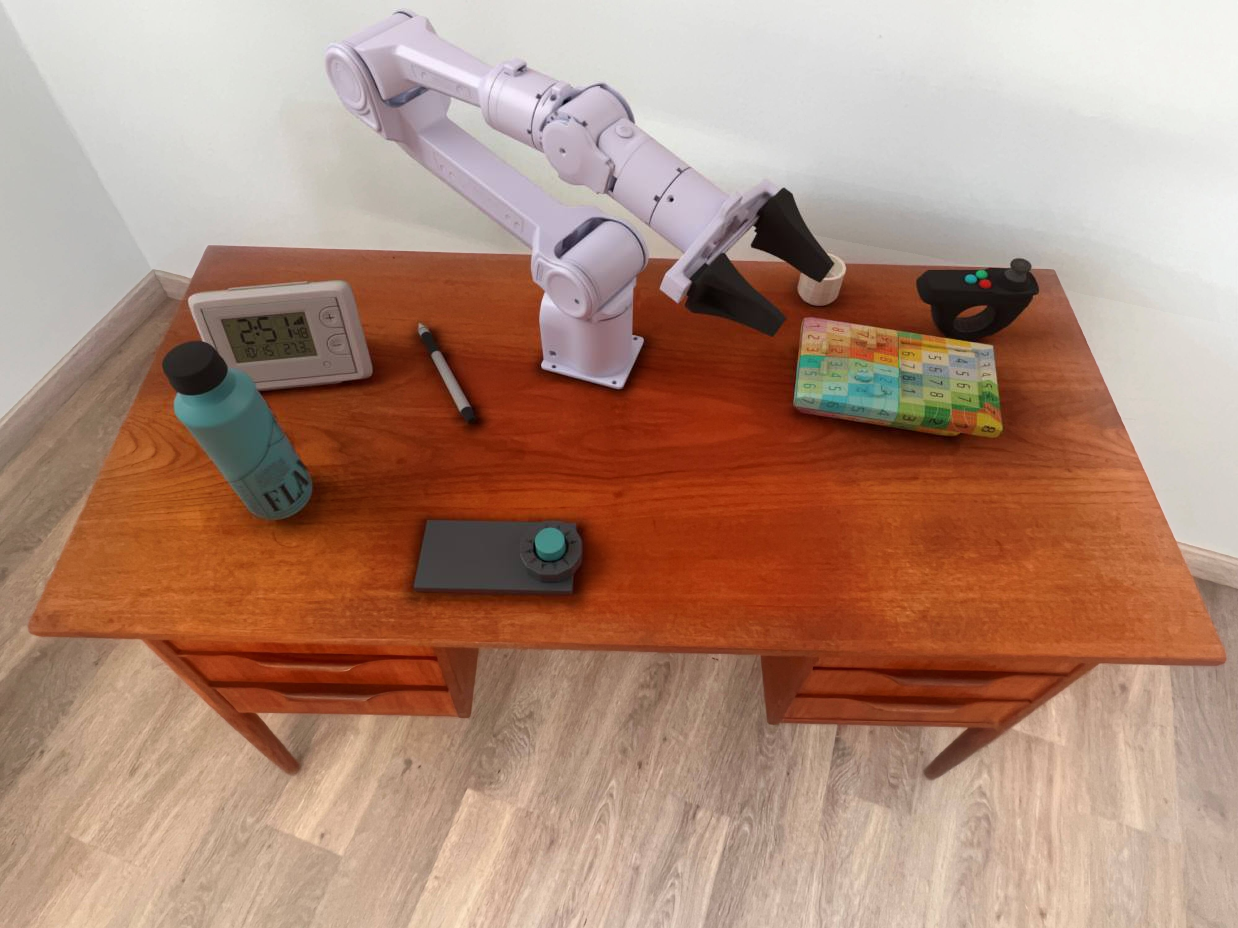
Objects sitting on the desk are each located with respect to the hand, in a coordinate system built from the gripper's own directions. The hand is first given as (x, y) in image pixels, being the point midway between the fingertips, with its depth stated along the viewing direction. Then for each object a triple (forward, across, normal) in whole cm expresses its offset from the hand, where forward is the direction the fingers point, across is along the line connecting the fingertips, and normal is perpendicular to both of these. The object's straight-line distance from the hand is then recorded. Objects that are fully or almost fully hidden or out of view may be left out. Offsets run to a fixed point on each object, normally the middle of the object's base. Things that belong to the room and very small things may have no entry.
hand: (804, 300), depth 59 cm
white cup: (-1, +23, +22) cm, 32 cm away
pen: (-26, -13, +28) cm, 41 cm away
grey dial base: (-7, -27, +22) cm, 35 cm away
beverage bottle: (-27, -34, +27) cm, 51 cm away
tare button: (-4, -24, +19) cm, 30 cm away
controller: (+14, +27, +18) cm, 35 cm away
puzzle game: (+12, +13, +18) cm, 25 cm away
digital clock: (-38, -23, +31) cm, 54 cm away
